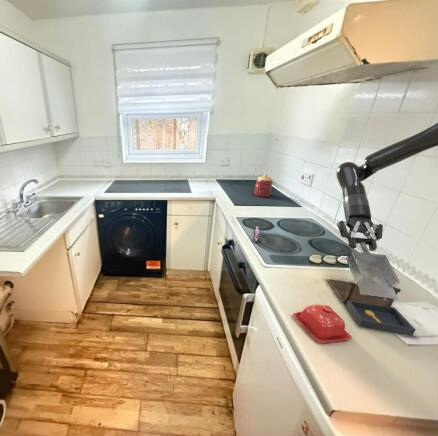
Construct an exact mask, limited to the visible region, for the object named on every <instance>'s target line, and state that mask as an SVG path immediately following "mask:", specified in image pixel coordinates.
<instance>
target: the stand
mask: <svg viewBox="0 0 438 436" xmlns="http://www.w3.org/2000/svg"><path fill="white" fill-rule="evenodd" d="M327 282H328V284H329V286H330V287H331V288H332V289H333V291H334V293H335V294H336V295H337V298H338V299H339V300H340V301H341V303H342V304H345V305H346V304H347V301H348V300H350V301H356V302H363V303H369V304H375V305H381V306H387V307H393V306H392V305H393V304H394V302H395V300H391V299H384V298H378V297H371V296H365V295H360V293H359V290H358V288H357V285H356V283H355V280H349V281H344V280H337V279H331V278H328V280H327ZM393 289H394V291H395V293H396V294H397V295H399V293H401V291H402V290H401V288H399V287H397V286H395V287H394V288H393Z"/></svg>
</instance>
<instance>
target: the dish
mask: <svg viewBox="0 0 438 436" xmlns="http://www.w3.org/2000/svg"><path fill="white" fill-rule="evenodd" d="M354 238H355V240H356V245H357V244H358V245H360V248H361V250H362V251H353V250H352V251H350V253H349V254H348V255H347V256H346V258H345V260H346V262H347V265H348V267H349V271H350V273H351V275H352V277H353V281H354V282H355V283H356V285H357V288H358V290H359V293H360V295H365V296H371V297H378V298H383V299H384V300H386V299H391V300H394V301H399V300H400V297H398V294H396V293H395V291H394V289H393V288H394V287H397V286H398V285H400V283H401V280H400V279H399V277H398V275H397V274H396V272H395V269H394V268H393V266H392V264H391V263H390V260H389V259H388V256H387V255H386V254H380V253H371V251H370V250H369V247H368V246H369V245H370V244H371V239H367V238H366V237H356V236H354Z"/></svg>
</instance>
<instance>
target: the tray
mask: <svg viewBox="0 0 438 436" xmlns="http://www.w3.org/2000/svg"><path fill="white" fill-rule="evenodd" d="M345 307H346V309H347V310H348V311H349V313H350V314H351V316H352V318H353V319H354V321H355V322H356V324H357V325H358V326H359V327H361V328H367V329H371V330H378V331H383V332H387V333H388V332H389V333H393V334H399V335H405V336H410V337H412V336H413V335H414V334H415V331H416V328H415V327H414V326H413V325H412V324H411V323H410V322H409V321H408V320H407V319H406V318H405V316H404V315H403V314H402V313H401V312H399V311H400V310H398V308H396V307H394V306H391V307H387V306H381V305H375V304H369V303H363V302H356V301H350V300H348V301H347V304H346V303H345ZM365 310H369V311H372V312H373V313H374V314H375V315H374V316H375V317H376V318H377V319H378V320H379V321H380V322H377V321H375V320H374V319H373V318H372V317H371V316H368V315H367V314H365ZM381 322H382V323H381Z"/></svg>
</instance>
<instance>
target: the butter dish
mask: <svg viewBox="0 0 438 436" xmlns="http://www.w3.org/2000/svg"><path fill="white" fill-rule="evenodd" d="M292 316H293V317H294V319H295V320H296V321H297V322H298V323H299V324H300V325H301V326H302V327H303V328H304V329H305V330H306V332H308V333H309V334H310V336H311V337H312V338H313V339H314V340H316V342H317V343H322V344H323V343H333V342H341V341H348V340H351V339H353V338H352V335H351V334H350V333H349V332H347V331H346V323H345V320H344V319H343V318H342V316H340V315H339V314H338V313H337V312H335V311H334V310H333V308H332V307H331V306H330V305H328V304H311V305H308V306H306V307H304V308H303V309H302V311H297V312H294V313H292Z"/></svg>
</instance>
